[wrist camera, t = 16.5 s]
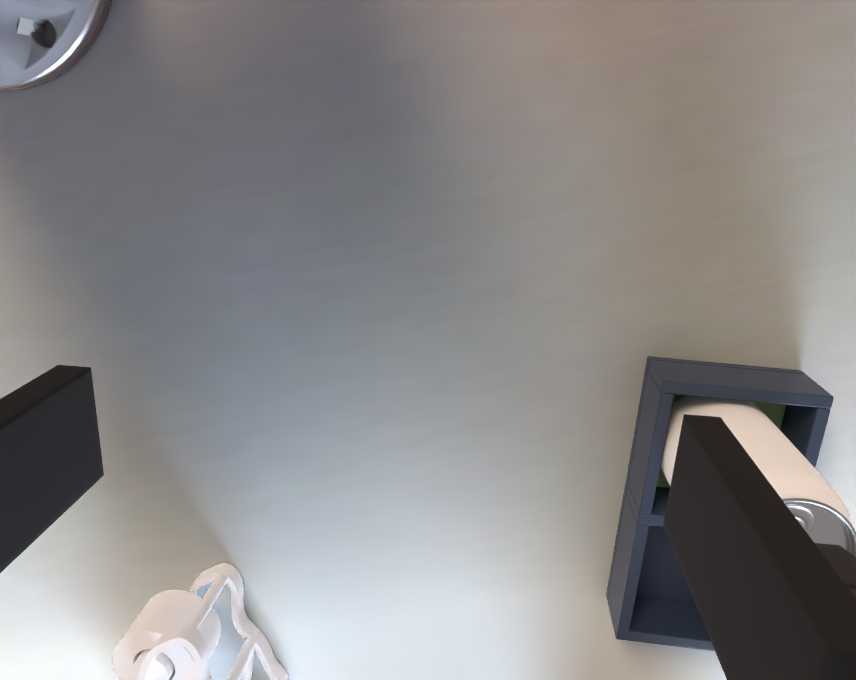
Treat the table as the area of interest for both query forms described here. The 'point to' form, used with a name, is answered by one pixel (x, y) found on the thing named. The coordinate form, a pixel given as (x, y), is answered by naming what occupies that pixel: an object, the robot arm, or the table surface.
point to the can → (771, 466)
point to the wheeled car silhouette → (191, 634)
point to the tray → (649, 489)
